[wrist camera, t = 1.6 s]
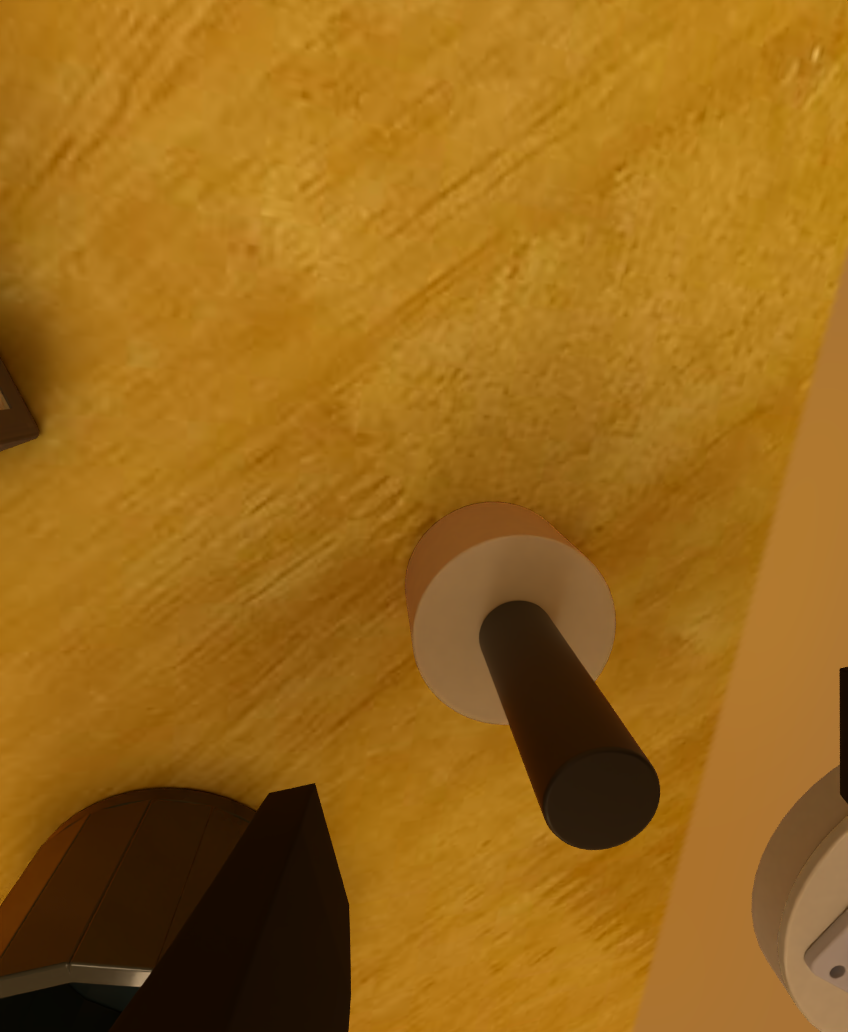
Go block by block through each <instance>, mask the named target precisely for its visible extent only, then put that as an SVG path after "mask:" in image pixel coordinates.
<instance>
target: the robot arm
mask: <svg viewBox="0 0 848 1032" xmlns="http://www.w3.org/2000/svg"><path fill="white" fill-rule="evenodd" d="M840 795H841V796H842V797H843V798H844V800H845V801H846V802H847V803H848V667H845V668H841V669H840ZM804 960H805V963H806V965H807V966H808V967H809V969H810V970H811V971H812V973H813V974H815V975H816V976H818V977H820V978H821V979H823V980H825V981H827V982H829V983H831V984H833V985H834V986H836V987H838V988H840V989H842V990H844V991H846V992H847V993H848V908H847V909H846V910H845V911H844V912H843V913H842V914H841V915H840V916H839V917H838V918H837V919H836V920H835V922H834V923H833V924H832V925H831V926H830V927H829V928H828V929H827V930H826V931H825V932H824V933H823V934H822V935H821V936H820V937H819V938H818V939H817V940H816V941H815V942H814V943H813V944H812V946H811V947H810V948H809V949H808V950H807V952H806V953H805V958H804ZM350 1000H351V964H350V920H349V903H348V899H347V896H346V892H345V889H344V885H343V882H342V878H341V874H340V871H339V867H338V864H337V860H336V857H335V853H334V849H333V846H332V842H331V839H330V835H329V832H328V828H327V825H326V821H325V817H324V814H323V810H322V807H321V803H320V800H319V796H318V793H317V789H316V785H315V783H314V784H309V785H305V786H300V787H295V788H291V789H286V790H282V791H277V792H272V793H269V794H268V796H267V797H266V799H265V800H264V802H263V803H262V805H261V806H260V808H259V809H258V811H257V812H256V814H255V815H254V817H253V818H252V820H251V821H250V823H249V825H248V826H247V828H246V829H245V831H244V832H243V834H242V836H241V837H240V839H239V840H238V842H237V843H236V845H235V847H234V848H233V850H232V851H231V853H230V855H229V856H228V858H227V859H226V861H225V862H224V864H223V865H222V867H221V869H220V870H219V872H218V873H217V875H216V876H215V878H214V879H213V881H212V883H211V884H210V886H209V887H208V889H207V890H206V892H205V893H204V895H203V896H202V898H201V899H200V901H199V902H198V904H197V905H196V907H195V908H194V910H193V911H192V913H191V914H190V916H189V917H188V919H187V920H186V922H185V923H184V925H183V926H182V928H181V929H180V931H179V932H178V934H177V935H176V937H175V938H174V940H173V941H172V943H171V944H170V946H169V947H168V949H167V950H166V952H165V953H164V954H163V956H162V957H161V959H160V960H159V962H158V963H157V965H156V966H155V967H154V969H153V970H152V972H151V973H150V974H149V976H148V977H147V979H146V980H145V981H144V983H143V984H142V986H141V987H140V988H139V990H138V991H137V992H136V994H135V995H134V997H133V998H132V999H131V1001H130V1002H129V1003H128V1005H127V1006H126V1008H125V1009H124V1010H123V1012H122V1013H121V1015H120V1016H119V1017H118V1019H117V1020H116V1021H115V1023H114V1024H113V1026H112V1027H111V1028H110V1030H109V1031H108V1032H348V1029H349V1015H350Z"/></svg>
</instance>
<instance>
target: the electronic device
mask: <svg viewBox="0 0 848 1032" xmlns="http://www.w3.org/2000/svg"><path fill="white" fill-rule="evenodd" d="M38 436H39V430H38V428H37V426H36V424H35V422H34V420H33V418H32V416H31V414H30V413H29V411H28V409H27V407H26V405H25V403H24V401H23V399H22V397H21V396H20V394H19V392H18V390H17V388H16V386H15V384H14V382H13V380H12V378H11V377H10V375H9V373H8V371H7V369H6V367H5V365H4V363H3V361H2V360H1V358H0V451H3V450H5V449H8V448H11V447H14V446H16V445H19V444H22V443H25V442H27V441H30V440H33V439H36V438H37V437H38Z"/></svg>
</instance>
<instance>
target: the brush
mask: <svg viewBox="0 0 848 1032" xmlns="http://www.w3.org/2000/svg"><path fill="white" fill-rule="evenodd" d="M405 594H406V601H407V609H408V616H409V623H410V630H411V637H412V645H413V652H414V657H415V660H416V664H417V667H418V669H419V671H420V673H421V676H422V678H423V679H424V681H425V682H426V684H427V685H428V687H429V688H430V690H431V691H432V692H433V693H434V694H435V695H436V696H437V697H438V698H439V699H440V700H441V701H442V702H443V703H444V704H446V705H447V706H448V707H450V708H452V709H453V710H455V711H456V712H458V713H460V714H462V715H464V716H466V717H468V718H471V719H474V720H477V721H481V722H486V723H490V724H501V725H510V728H511V731H512V733H513V736H514V739H515V741H516V744H517V747H518V749H519V752H520V755H521V757H522V760H523V763H524V765H525V768H526V771H527V773H528V776H529V779H530V781H531V784H532V787H533V789H534V792H535V795H536V797H537V800H538V803H539V805H540V808H541V811H542V813H543V816H544V819H545V821H546V823H547V825H548V827H549V828H550V830H551V831H552V832H553V833H554V834H555V835H556V836H557V837H558V838H560V839H561V840H562V841H564V842H565V843H567V844H569V845H571V846H574V847H577V848H580V849H586V850H602V849H608V848H612V847H615V846H618V845H621V844H623V843H625V842H627V841H629V840H630V839H632V838H633V837H635V836H636V835H638V834H639V833H640V832H641V831H642V830H643V829H644V828H645V827H646V826H647V825H648V823H649V822H650V821H651V819H652V818H653V816H654V814H655V812H656V810H657V807H658V803H659V798H660V785H659V779H658V776H657V773H656V771H655V769H654V768H653V766H652V765H651V763H650V762H649V760H648V759H647V757H646V756H645V754H644V753H643V751H642V750H641V749H640V747H639V746H638V744H637V743H636V741H635V740H634V738H633V737H632V736H631V734H630V733H629V731H628V730H627V728H626V727H625V725H624V724H623V723H622V721H621V720H620V718H619V717H618V715H617V714H616V712H615V711H614V709H613V708H612V707H611V705H610V704H609V702H608V701H607V699H606V698H605V696H604V695H603V694H602V692H601V691H600V689H599V688H598V686H597V685H596V683H595V681H596V679H597V678H598V676H599V675H600V673H601V672H602V670H603V668H604V666H605V664H606V663H607V661H608V658H609V655H610V653H611V650H612V646H613V642H614V637H615V627H616V619H615V608H614V603H613V599H612V596H611V593H610V590H609V587H608V585H607V583H606V582H605V580H604V578H603V576H602V575H601V573H600V572H599V571H598V569H597V568H596V567H595V566H594V565H593V563H592V562H591V561H590V560H589V559H588V558H587V557H586V556H584V555H583V554H582V553H581V552H580V551H579V550H578V549H577V548H576V547H575V546H574V545H573V544H571V543H570V542H569V541H568V540H567V539H566V538H565V537H564V536H563V535H562V534H561V533H559V532H558V531H557V530H556V529H555V528H554V527H553V526H552V525H551V524H550V523H549V522H547V521H546V520H545V519H543V518H542V517H541V516H540V515H538V514H536V513H534V512H533V511H531V510H529V509H526V508H524V507H521V506H518V505H514V504H510V503H502V502H485V503H478V504H473V505H469V506H466V507H463V508H461V509H458V510H456V511H453V512H452V513H450V514H448V515H446V516H445V517H443V518H442V519H441V520H439V521H438V522H437V523H435V524H434V525H433V526H432V527H431V528H430V529H429V530H428V531H427V532H426V533H425V534H424V536H423V537H422V538H421V539H420V541H419V542H418V544H417V546H416V547H415V549H414V551H413V553H412V556H411V558H410V560H409V564H408V567H407V572H406V579H405Z"/></svg>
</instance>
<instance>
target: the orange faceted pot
mask: <svg viewBox="0 0 848 1032" xmlns="http://www.w3.org/2000/svg"><path fill="white" fill-rule="evenodd" d="M255 814H256V812H255V811H253V810H251V809H250V808H248V807H246V806H244V805H242V804H240V803H237V802H235V801H232V800H230V799H228V798H225V797H221V796H218V795H214V794H211V793H207V792H201V791H195V790H189V789H175V788H161V789H146V790H140V791H134V792H128V793H125V794H121V795H117V796H114V797H110V798H108V799H105V800H103V801H100V802H98V803H96V804H93V805H91V806H90V807H88V808H86V809H84V810H82V811H81V812H79V813H77V814H76V815H74V816H73V817H71V818H70V819H69V820H67V821H66V822H65V823H63V824H62V825H61V826H60V827H59V828H58V829H57V830H56V831H55V832H54V833H53V834H52V835H51V836H50V837H49V838H48V840H47V841H46V842H45V843H44V844H43V845H42V846H41V847H40V849H39V850H38V852H37V853H36V855H35V856H34V858H33V859H32V860H31V862H30V863H29V865H28V866H27V868H26V869H25V871H24V872H23V874H22V875H21V876H20V878H19V879H18V881H17V882H16V884H15V885H14V887H13V888H12V890H11V891H10V893H9V894H8V895H7V897H6V898H5V900H4V901H3V903H2V904H1V906H0V1032H108V1031H109V1030H110V1028H111V1027H112V1026H113V1024H114V1023H115V1021H116V1020H117V1019H118V1017H119V1016H120V1015H121V1013H122V1012H123V1010H124V1009H125V1008H126V1006H127V1005H128V1003H129V1002H130V1001H131V999H132V998H133V997H134V995H135V994H136V992H137V991H138V990H139V988H140V987H141V986H142V984H143V983H144V981H145V980H146V979H147V977H148V976H149V974H150V973H151V972H152V970H153V969H154V967H155V966H156V965H157V963H158V962H159V960H160V959H161V957H162V956H163V954H164V953H165V952H166V950H167V949H168V947H169V946H170V944H171V943H172V941H173V940H174V938H175V937H176V935H177V934H178V932H179V931H180V929H181V928H182V926H183V925H184V923H185V922H186V920H187V919H188V917H189V916H190V914H191V913H192V911H193V910H194V908H195V907H196V905H197V904H198V902H199V901H200V899H201V898H202V896H203V895H204V893H205V892H206V890H207V889H208V887H209V886H210V884H211V883H212V881H213V879H214V878H215V876H216V875H217V873H218V872H219V870H220V869H221V867H222V865H223V864H224V862H225V861H226V859H227V858H228V856H229V855H230V853H231V851H232V850H233V848H234V847H235V845H236V843H237V842H238V840H239V839H240V837H241V836H242V834H243V832H244V831H245V829H246V828H247V826H248V825H249V823H250V821H251V820H252V818H253V817H254V815H255Z"/></svg>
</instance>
